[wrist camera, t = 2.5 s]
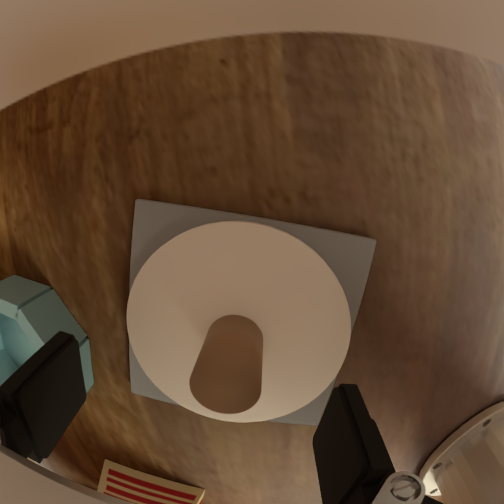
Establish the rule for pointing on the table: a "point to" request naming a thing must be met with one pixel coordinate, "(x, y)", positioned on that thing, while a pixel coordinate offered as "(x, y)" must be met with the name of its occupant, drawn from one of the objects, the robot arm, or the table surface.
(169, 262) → the lid
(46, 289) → the bowl
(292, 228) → the mat
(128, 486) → the milk carton
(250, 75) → the table surface
